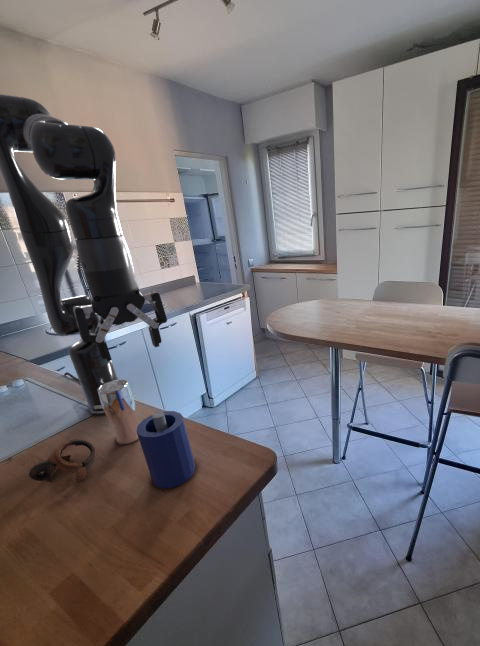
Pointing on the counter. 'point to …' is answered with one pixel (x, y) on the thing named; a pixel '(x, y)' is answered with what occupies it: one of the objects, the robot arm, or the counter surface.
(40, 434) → the counter surface
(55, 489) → the counter surface
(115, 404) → the beer glass
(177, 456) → the vase
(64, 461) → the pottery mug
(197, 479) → the counter surface
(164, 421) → the marker
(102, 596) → the counter surface
